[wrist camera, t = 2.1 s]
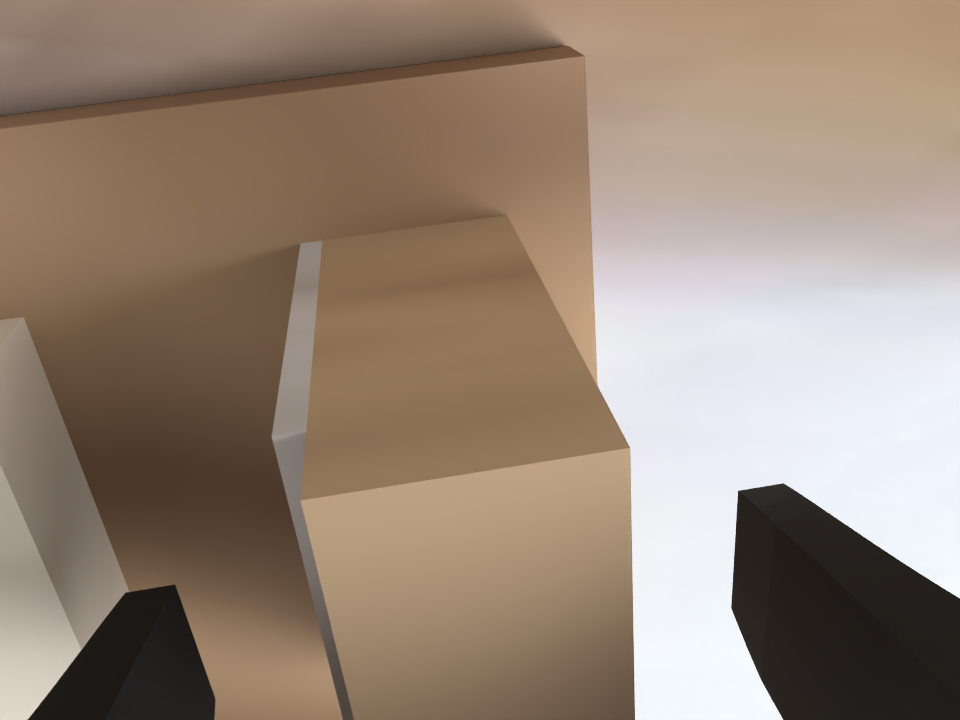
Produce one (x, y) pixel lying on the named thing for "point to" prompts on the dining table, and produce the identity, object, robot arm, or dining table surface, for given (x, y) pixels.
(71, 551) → the tile
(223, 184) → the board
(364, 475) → the light wood block
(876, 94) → the dining table surface
